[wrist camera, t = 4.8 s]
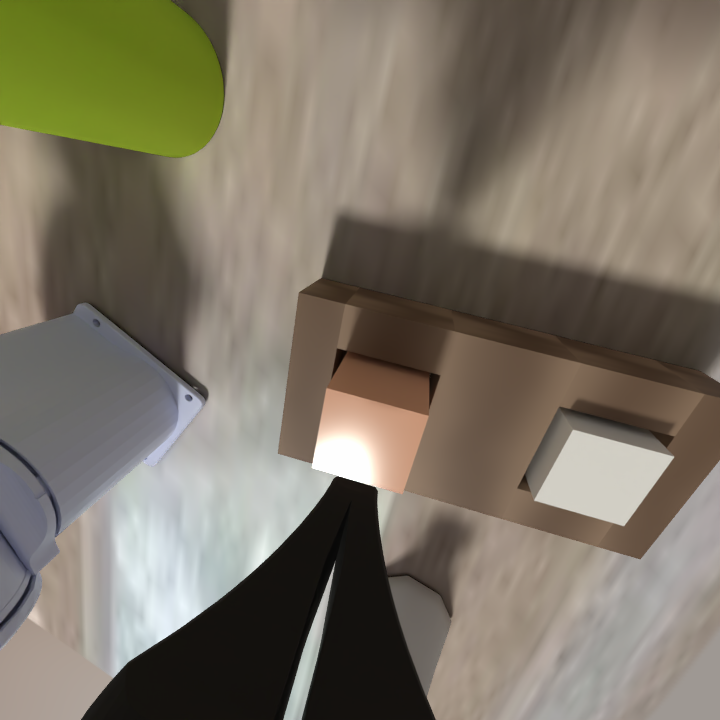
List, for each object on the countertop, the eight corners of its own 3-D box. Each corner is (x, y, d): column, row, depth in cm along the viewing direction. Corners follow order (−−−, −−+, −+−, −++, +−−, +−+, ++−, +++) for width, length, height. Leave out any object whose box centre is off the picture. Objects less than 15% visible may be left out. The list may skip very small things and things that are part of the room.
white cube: (513, 442, 20) (533, 500, 16) (542, 381, 19) (573, 429, 15) (584, 461, 20) (623, 526, 16) (620, 401, 18) (674, 456, 14)
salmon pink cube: (336, 413, 19) (311, 467, 15) (350, 346, 18) (326, 387, 14) (408, 433, 19) (402, 494, 15) (429, 367, 17) (428, 415, 13)
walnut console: (299, 418, 22) (277, 453, 19) (321, 278, 19) (298, 292, 16) (608, 505, 21) (640, 559, 18) (700, 371, 17) (761, 408, 14)
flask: (336, 589, 28) (292, 769, 19) (410, 560, 26) (399, 752, 17) (392, 644, 30) (376, 835, 21) (468, 621, 27) (487, 829, 18)
